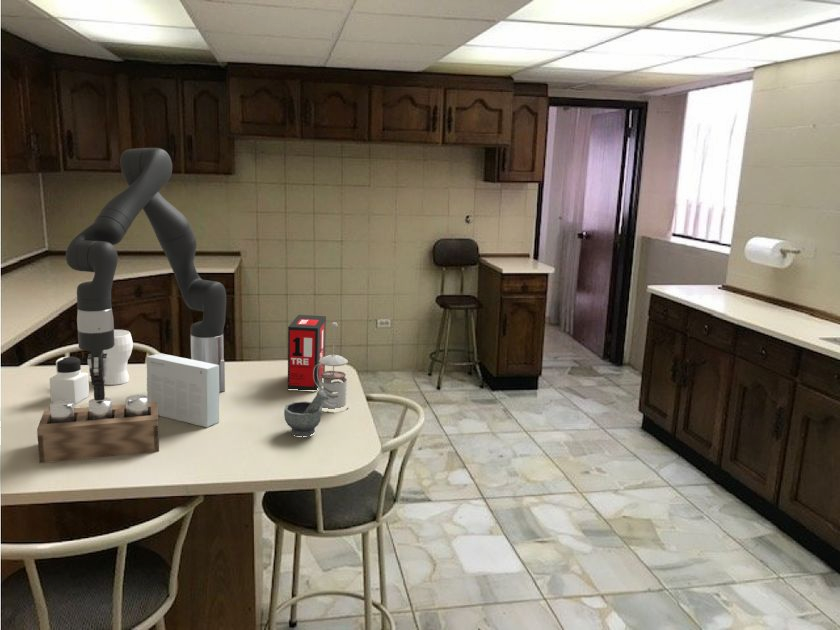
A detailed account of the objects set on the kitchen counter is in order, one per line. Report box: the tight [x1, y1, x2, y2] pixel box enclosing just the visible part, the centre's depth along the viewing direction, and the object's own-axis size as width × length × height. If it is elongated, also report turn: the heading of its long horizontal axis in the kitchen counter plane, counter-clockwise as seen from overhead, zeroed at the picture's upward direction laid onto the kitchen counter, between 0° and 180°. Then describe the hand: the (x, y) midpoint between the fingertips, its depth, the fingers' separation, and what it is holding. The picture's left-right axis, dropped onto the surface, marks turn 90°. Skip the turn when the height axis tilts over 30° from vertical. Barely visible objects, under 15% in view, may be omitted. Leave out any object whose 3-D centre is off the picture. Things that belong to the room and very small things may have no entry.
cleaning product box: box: [287, 314, 327, 391], centre depth 214 cm, size 16×9×20 cm, turn 179°
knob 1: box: [49, 400, 75, 423], centre depth 158 cm, size 5×5×5 cm
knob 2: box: [125, 394, 148, 417], centre depth 163 cm, size 5×5×5 cm
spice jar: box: [88, 396, 112, 420], centre depth 161 cm, size 5×5×5 cm
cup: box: [103, 329, 134, 386], centre depth 206 cm, size 11×11×15 cm
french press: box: [313, 321, 349, 409], centre depth 194 cm, size 10×12×25 cm
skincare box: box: [146, 352, 220, 428], centre depth 181 cm, size 21×5×16 cm, turn 65°
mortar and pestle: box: [283, 390, 327, 437], centre depth 175 cm, size 11×9×12 cm
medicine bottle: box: [49, 356, 90, 405], centre depth 190 cm, size 7×7×12 cm
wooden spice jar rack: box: [36, 402, 160, 464], centre depth 162 cm, size 25×12×8 cm, turn 111°
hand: (99, 399), depth 160 cm, fingers closed
